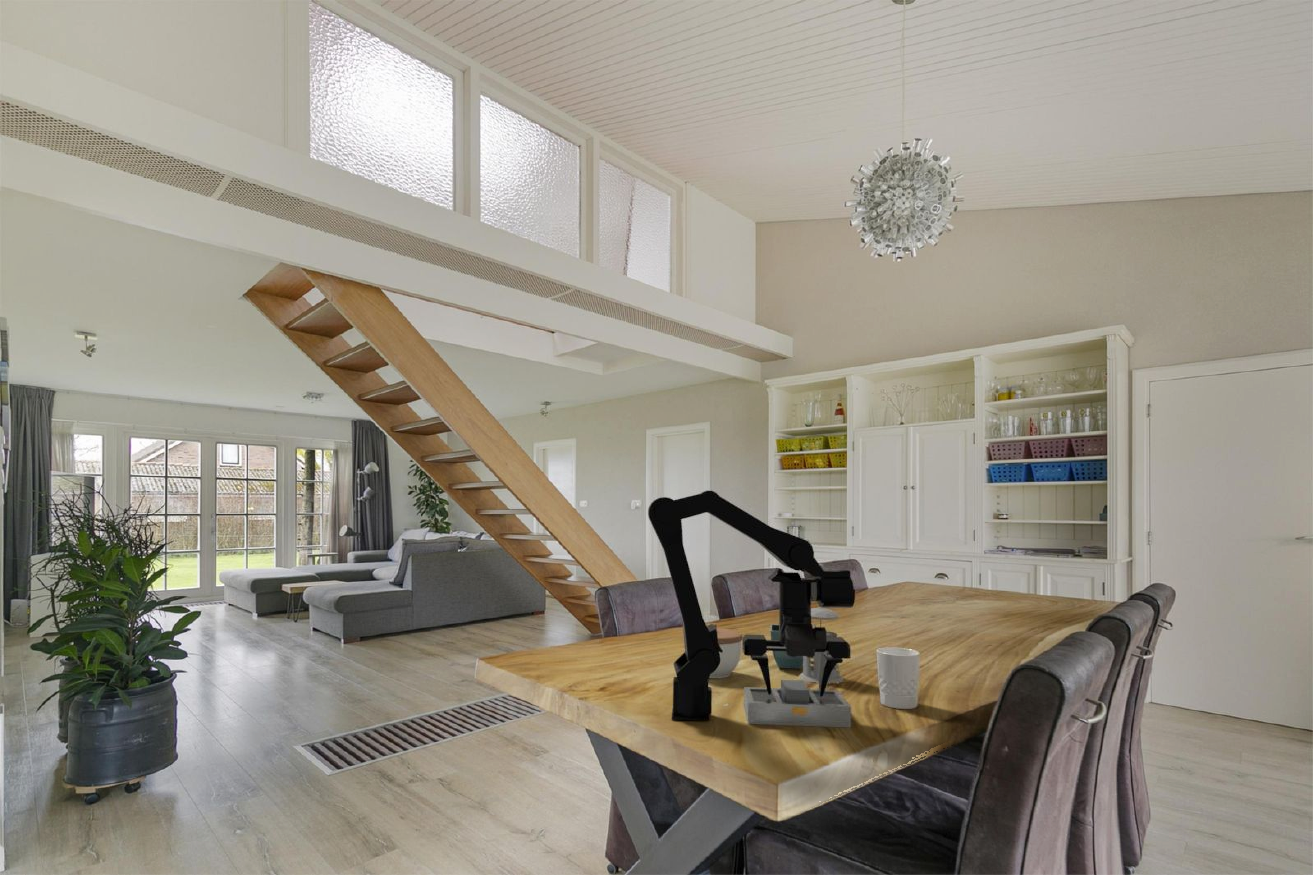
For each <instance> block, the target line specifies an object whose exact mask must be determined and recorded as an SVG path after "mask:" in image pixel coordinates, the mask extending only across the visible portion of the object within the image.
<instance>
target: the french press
mask: <svg viewBox="0 0 1313 875" xmlns="http://www.w3.org/2000/svg"><path fill="white" fill-rule="evenodd" d="M818 564H819V565H820V566H821V568H822V569H823V570H825V568H826V567H825V565H824V564H823V563H818ZM839 618H840V615H839V614H838V613H836V612H835V611H834V610H831V609H829V608H827V607H820V606H818V607H813V608H812V607H811V620H817V621H818V620H819V624H820V625H819V627H822V621H823V620H824V621H827V620H828V621H829V620H837V619H839ZM812 627H813V628H815V627H817V624H816V623H813V624H812ZM826 637H838V634H837V632H833V631H830V630H829V631H828V630H827V631H826ZM821 653H824V652H815V656H814V657H807V656H803V661H804V662H803V665H802V672H801V673H800V674H799V675H798V676H799V677H798V679H799V678H801V679H802V680H805V681H804V682H807V683H810V682H816V683H815V684H817V683H819V676H820V660H821ZM812 659H813V660H812ZM811 665H813V666H811ZM839 670H840V665H839V663H837V664H836V666H835V667H834V668H833V670H832V672H831V674H830V676H829V679H828V682H827V683H829V684H828V685H831V684H830V683H837V682H842V683H843V682H844V681H845V680H844V678H843V676H841V675H840V671H839ZM801 679H800V680H801ZM837 684H838V683H837Z"/></svg>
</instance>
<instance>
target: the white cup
mask: <svg viewBox="0 0 1313 875" xmlns="http://www.w3.org/2000/svg"><path fill="white" fill-rule="evenodd" d="M920 659H921V658H920V652H919V651H918V650H914V649H910V648H906V647H905V648H904V647H896V646H894V647H893V646H891V647H890V646H887V647H879V648H876V662H877V665H876V666H877V677H878V679H877V680H878V681H877V682H878V689H879V700H880V701H879V702H880V704H881V705H882V706H885V707H888V708H892V709H899V710H912V709H916V708H918V695H919V694H918V692H919V682H920Z"/></svg>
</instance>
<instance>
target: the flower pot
mask: <svg viewBox="0 0 1313 875" xmlns="http://www.w3.org/2000/svg"><path fill="white" fill-rule="evenodd" d="M769 627H770V630H769V631H770V640H779V624H770V626H769ZM784 646H785V644H784ZM772 656H773V658H774V661H775V663H776V665H777V667H778V668H779V669H795V670H800V669H802V668H803V662H804V661H803V656H796V657H791V656H788V655H787V653H786V651H772Z"/></svg>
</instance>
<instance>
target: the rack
mask: <svg viewBox="0 0 1313 875" xmlns="http://www.w3.org/2000/svg"><path fill="white" fill-rule="evenodd" d="M808 689H809V699H810V703H783V702H782V700H781V687H779V688H778V687H771V695H768V692H767V688H766V687H754V686H753V687H750V686H749V687H747V686H744V687H743V707H744V708H743V709H744V712H745V716H746V720H747V723H748V725H766V726H767V725H768V726H772V725H774V726H797V727H798V726H800V727H822V728H823V727H824V728H825V727H826V728H852V706H851V705H850V703H849V702H848V701H847V700H846V698H845V697H844V696H843V695H842V693H841V692H840V691H839V690H837V689H825V691H824V694H823V696H822V697H820V695H819V689H812V688H808Z"/></svg>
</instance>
